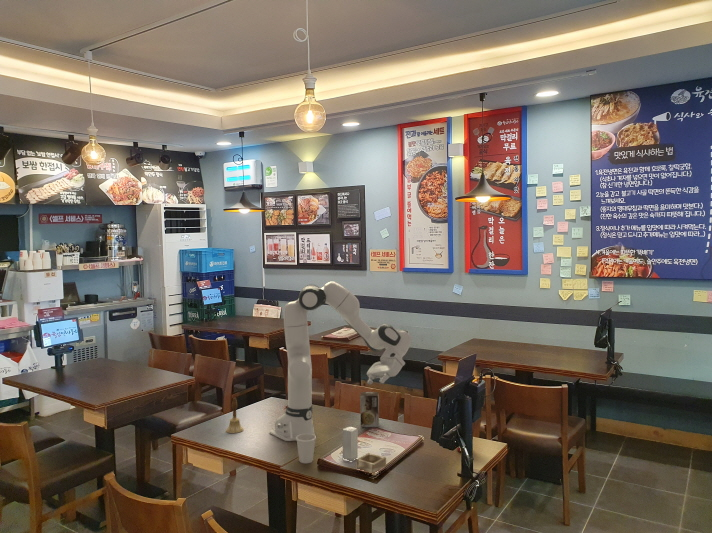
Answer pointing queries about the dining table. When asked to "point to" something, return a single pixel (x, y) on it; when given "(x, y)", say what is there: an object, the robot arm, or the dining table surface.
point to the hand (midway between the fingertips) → (374, 383)
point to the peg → (350, 443)
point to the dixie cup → (306, 447)
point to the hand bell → (234, 420)
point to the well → (371, 463)
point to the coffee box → (369, 409)
